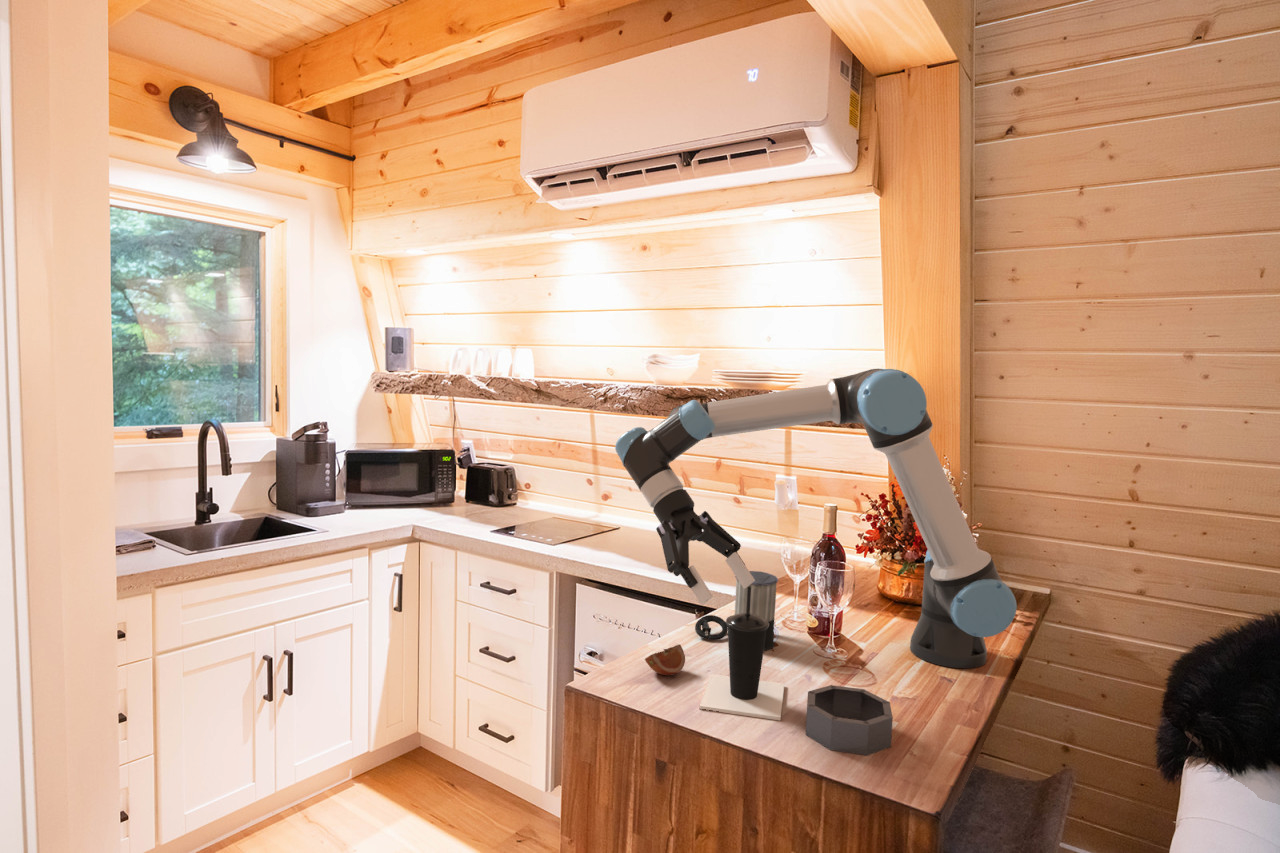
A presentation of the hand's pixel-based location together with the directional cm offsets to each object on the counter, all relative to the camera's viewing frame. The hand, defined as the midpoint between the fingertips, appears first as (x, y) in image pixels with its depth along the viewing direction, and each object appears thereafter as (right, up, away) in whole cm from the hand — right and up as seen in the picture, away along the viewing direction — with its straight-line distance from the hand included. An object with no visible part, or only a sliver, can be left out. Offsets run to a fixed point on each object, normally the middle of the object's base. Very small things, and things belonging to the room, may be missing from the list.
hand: (729, 592), depth 141 cm
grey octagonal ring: (+18, -21, -12) cm, 30 cm away
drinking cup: (+3, -19, -1) cm, 19 cm away
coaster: (+3, -19, -1) cm, 19 cm away
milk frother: (+4, -16, +27) cm, 32 cm away
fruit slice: (-12, -18, +9) cm, 23 cm away
